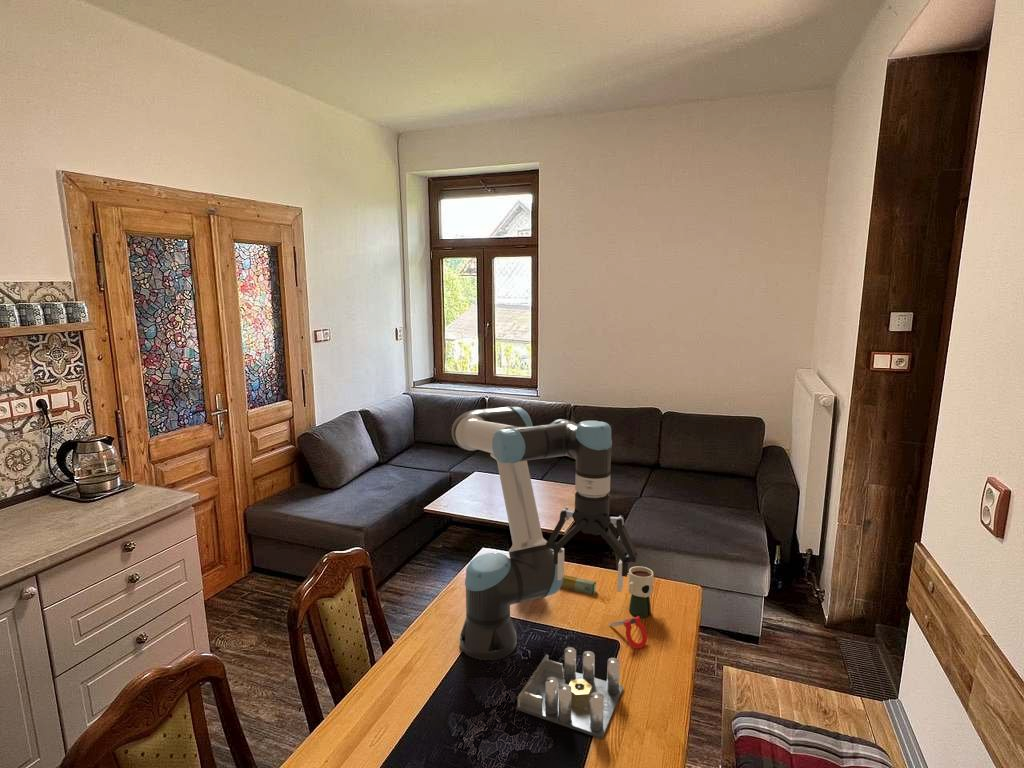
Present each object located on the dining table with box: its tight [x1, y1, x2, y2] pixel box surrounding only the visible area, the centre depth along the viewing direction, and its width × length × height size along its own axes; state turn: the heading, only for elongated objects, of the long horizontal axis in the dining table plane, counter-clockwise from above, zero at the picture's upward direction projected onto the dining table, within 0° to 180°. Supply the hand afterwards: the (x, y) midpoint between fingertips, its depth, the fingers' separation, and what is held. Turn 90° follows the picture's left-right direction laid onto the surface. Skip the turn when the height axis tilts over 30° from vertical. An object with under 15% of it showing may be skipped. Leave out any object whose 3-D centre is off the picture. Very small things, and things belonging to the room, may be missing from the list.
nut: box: [569, 679, 592, 707], centre depth 128 cm, size 5×6×3 cm
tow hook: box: [609, 616, 648, 649], centre depth 153 cm, size 7×10×7 cm
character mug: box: [628, 565, 655, 618], centre depth 164 cm, size 11×7×13 cm, turn 132°
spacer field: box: [516, 646, 624, 740], centre depth 129 cm, size 20×17×8 cm
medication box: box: [560, 574, 597, 596], centre depth 177 cm, size 12×3×4 cm, turn 66°
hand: (589, 583), depth 125 cm, fingers open, 13 cm apart
